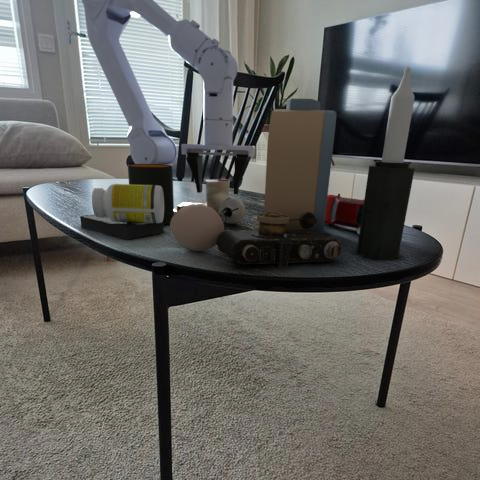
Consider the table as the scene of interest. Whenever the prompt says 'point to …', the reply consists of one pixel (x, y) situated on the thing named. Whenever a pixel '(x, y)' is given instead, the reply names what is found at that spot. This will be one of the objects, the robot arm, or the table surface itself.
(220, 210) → the reed diffuser
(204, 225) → the egg
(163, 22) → the robot arm
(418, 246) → the table surface
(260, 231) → the camera
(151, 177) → the mug
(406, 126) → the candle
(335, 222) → the toy car
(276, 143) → the tall beige block
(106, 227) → the vhs tape
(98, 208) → the pill bottle
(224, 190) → the pointer wheel
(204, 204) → the dial console
